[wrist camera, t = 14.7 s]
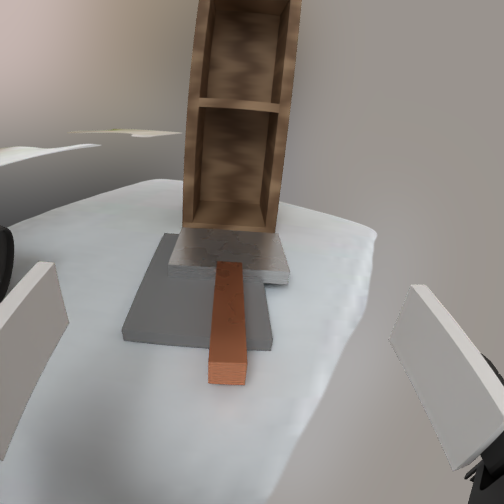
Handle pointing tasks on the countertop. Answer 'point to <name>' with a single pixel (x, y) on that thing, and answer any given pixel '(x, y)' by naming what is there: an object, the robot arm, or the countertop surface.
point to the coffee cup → (5, 259)
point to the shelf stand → (239, 113)
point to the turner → (228, 287)
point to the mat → (188, 308)
